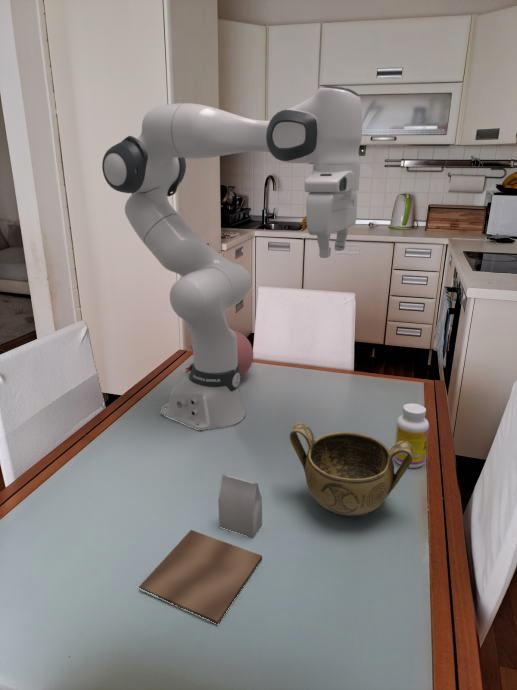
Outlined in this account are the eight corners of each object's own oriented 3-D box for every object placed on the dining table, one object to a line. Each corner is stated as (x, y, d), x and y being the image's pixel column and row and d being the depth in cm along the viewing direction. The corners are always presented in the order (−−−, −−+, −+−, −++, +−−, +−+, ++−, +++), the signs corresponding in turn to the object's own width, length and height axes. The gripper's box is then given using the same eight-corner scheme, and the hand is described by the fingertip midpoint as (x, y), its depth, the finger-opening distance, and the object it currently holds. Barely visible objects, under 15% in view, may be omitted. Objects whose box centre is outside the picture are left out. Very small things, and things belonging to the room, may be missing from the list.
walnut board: (139, 590, 76) (139, 586, 75) (191, 533, 87) (191, 529, 87) (217, 625, 70) (217, 621, 69) (262, 559, 81) (262, 555, 81)
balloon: (201, 365, 163) (199, 320, 158) (259, 371, 157) (259, 325, 152) (181, 383, 149) (178, 335, 144) (244, 391, 143) (243, 341, 138)
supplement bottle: (426, 470, 105) (432, 416, 101) (394, 467, 106) (399, 414, 102) (423, 454, 111) (429, 402, 107) (392, 451, 112) (397, 400, 108)
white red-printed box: (253, 538, 86) (252, 490, 83) (219, 527, 89) (217, 480, 85) (262, 525, 89) (261, 478, 86) (229, 515, 92) (227, 469, 89)
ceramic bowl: (278, 517, 91) (278, 446, 86) (301, 468, 106) (303, 405, 101) (402, 545, 84) (411, 470, 79) (409, 488, 99) (416, 421, 94)
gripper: (336, 179, 104) (333, 245, 109) (300, 182, 87) (299, 260, 92) (366, 179, 102) (361, 247, 106) (335, 182, 84) (331, 263, 89)
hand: (332, 253), depth 99 cm, fingers open, 8 cm apart
